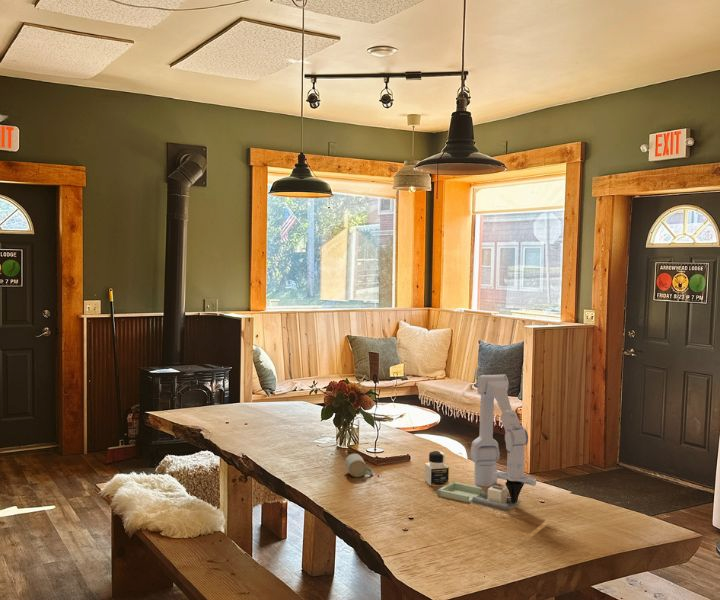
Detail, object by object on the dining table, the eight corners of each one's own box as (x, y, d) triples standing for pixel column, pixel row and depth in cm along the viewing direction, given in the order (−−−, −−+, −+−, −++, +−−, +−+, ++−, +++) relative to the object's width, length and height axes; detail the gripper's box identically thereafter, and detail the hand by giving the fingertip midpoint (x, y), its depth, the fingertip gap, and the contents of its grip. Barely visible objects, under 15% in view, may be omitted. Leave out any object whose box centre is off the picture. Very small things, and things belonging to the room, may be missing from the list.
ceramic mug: (348, 478, 290) (349, 459, 289) (344, 472, 298) (344, 453, 297) (375, 477, 293) (376, 458, 292) (369, 471, 301) (370, 452, 300)
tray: (452, 489, 279) (452, 481, 279) (482, 495, 273) (482, 487, 272) (437, 498, 269) (437, 489, 269) (467, 504, 263) (467, 496, 262)
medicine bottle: (430, 486, 282) (431, 455, 281) (424, 480, 289) (425, 450, 288) (448, 485, 284) (449, 454, 283) (441, 479, 291) (442, 449, 290)
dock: (482, 495, 273) (482, 489, 272) (521, 504, 264) (521, 497, 264) (467, 504, 263) (467, 498, 262) (507, 514, 254) (507, 506, 254)
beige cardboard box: (493, 499, 266) (493, 483, 266) (506, 502, 263) (507, 486, 263) (487, 503, 262) (487, 487, 262) (500, 506, 259) (501, 490, 259)
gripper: (491, 462, 259) (490, 500, 260) (531, 470, 251) (529, 509, 252) (499, 457, 265) (498, 495, 266) (539, 465, 256) (537, 504, 257)
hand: (514, 502), depth 259 cm, fingers closed
